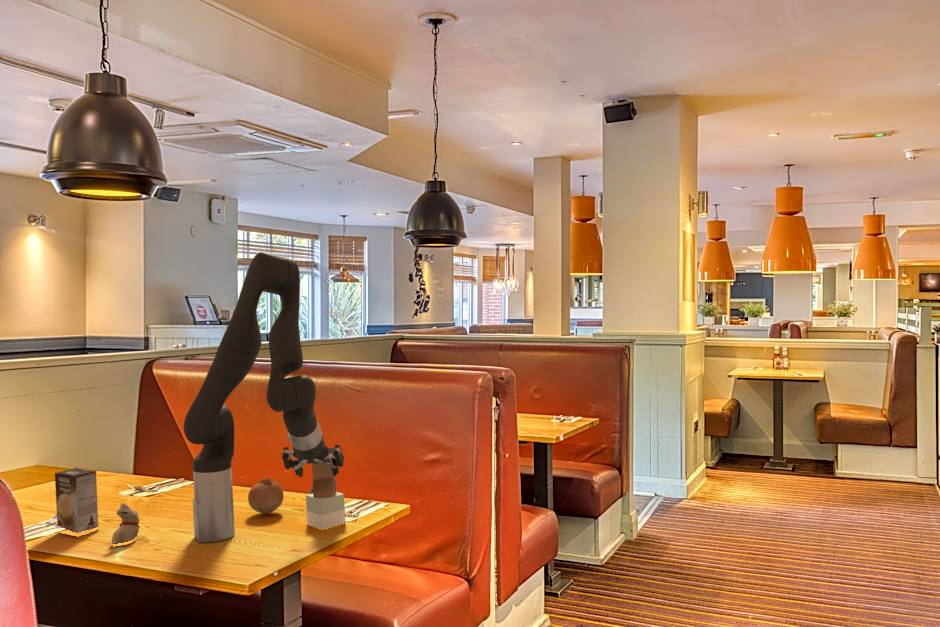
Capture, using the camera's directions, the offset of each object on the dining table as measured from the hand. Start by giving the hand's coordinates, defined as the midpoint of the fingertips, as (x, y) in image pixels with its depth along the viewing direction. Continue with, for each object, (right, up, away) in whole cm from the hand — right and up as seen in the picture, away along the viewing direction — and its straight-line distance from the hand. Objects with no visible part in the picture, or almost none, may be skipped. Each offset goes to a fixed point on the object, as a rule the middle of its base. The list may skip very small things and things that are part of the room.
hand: (318, 473), depth 197 cm
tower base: (+1, -15, +8) cm, 17 cm away
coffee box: (-65, -17, +10) cm, 68 cm away
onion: (-18, -15, +20) cm, 31 cm away
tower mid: (0, -11, +8) cm, 14 cm away
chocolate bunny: (-48, -17, -1) cm, 51 cm away
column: (0, -7, +8) cm, 11 cm away
